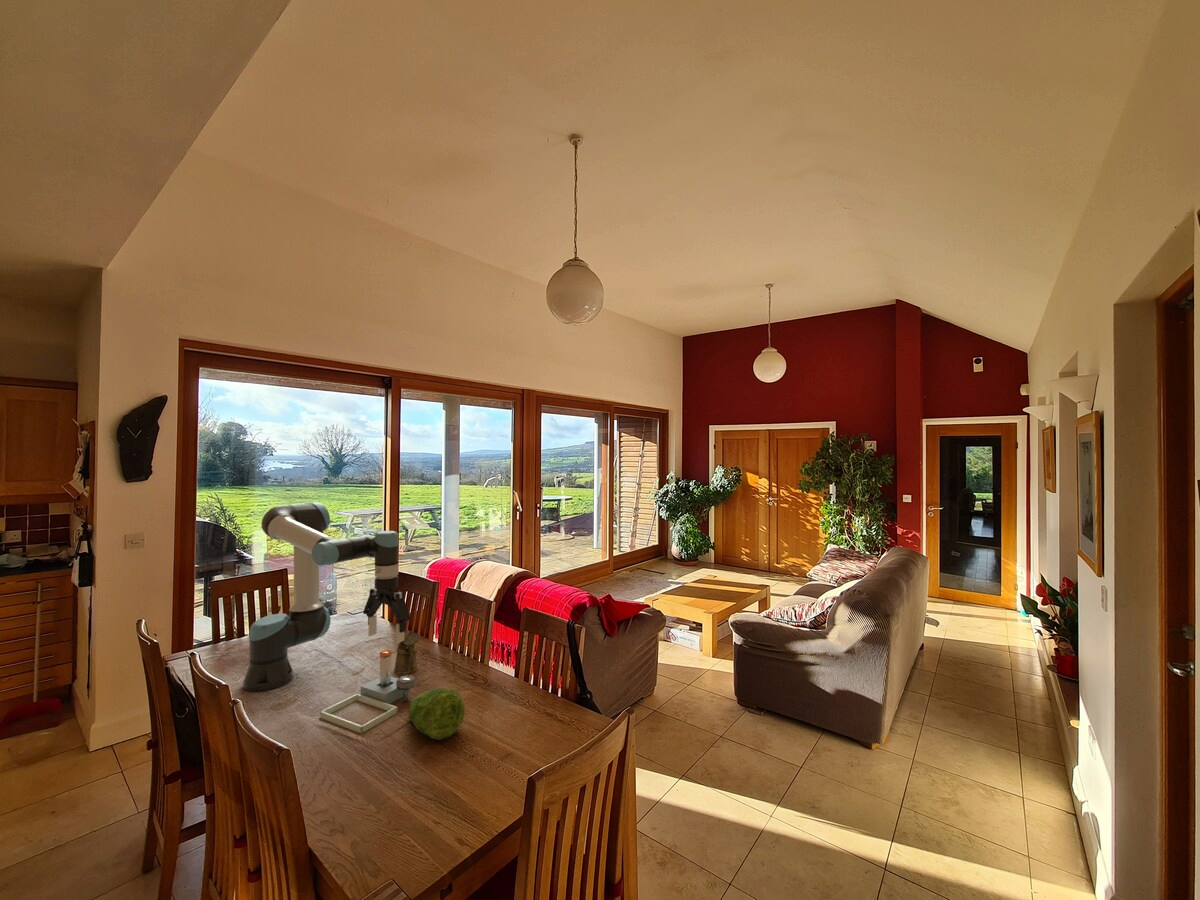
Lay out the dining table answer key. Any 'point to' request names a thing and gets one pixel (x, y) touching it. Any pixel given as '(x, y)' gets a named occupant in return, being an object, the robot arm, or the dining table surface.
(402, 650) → the wooden mug
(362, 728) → the tray
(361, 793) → the dining table surface
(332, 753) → the dining table surface
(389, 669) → the pin
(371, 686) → the block
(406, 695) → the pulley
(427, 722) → the lettuce
